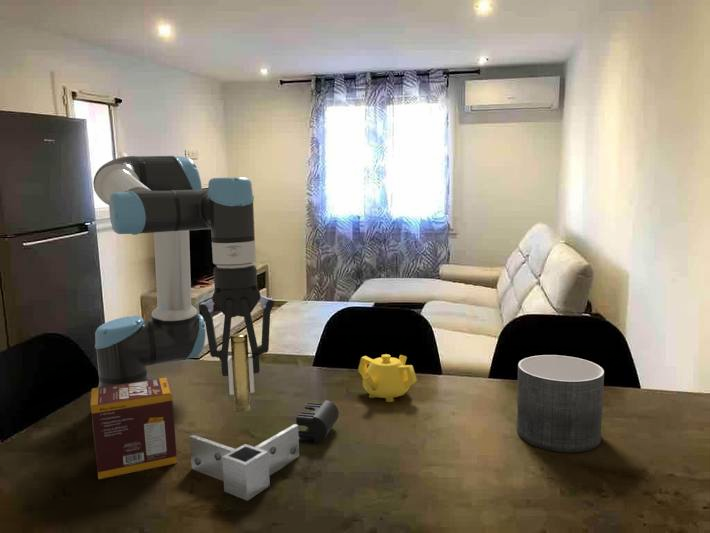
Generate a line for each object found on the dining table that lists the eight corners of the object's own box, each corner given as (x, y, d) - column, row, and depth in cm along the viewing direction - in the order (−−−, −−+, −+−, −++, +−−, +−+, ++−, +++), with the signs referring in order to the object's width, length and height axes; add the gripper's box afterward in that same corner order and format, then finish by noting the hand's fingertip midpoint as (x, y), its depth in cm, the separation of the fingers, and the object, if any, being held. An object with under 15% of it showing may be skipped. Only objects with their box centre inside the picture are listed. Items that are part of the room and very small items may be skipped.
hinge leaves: (181, 474, 112) (179, 441, 111) (246, 439, 127) (244, 409, 126) (247, 500, 103) (245, 464, 101) (308, 459, 117) (307, 427, 116)
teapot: (379, 378, 165) (378, 341, 163) (433, 390, 154) (433, 350, 153) (337, 400, 149) (336, 359, 147) (395, 415, 138) (394, 371, 137)
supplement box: (97, 457, 120) (91, 387, 118) (172, 442, 126) (167, 376, 124) (96, 480, 111) (89, 405, 109) (177, 463, 117) (172, 392, 115)
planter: (613, 432, 126) (616, 365, 124) (582, 462, 114) (585, 388, 111) (537, 412, 139) (539, 350, 136) (502, 436, 126) (503, 369, 123)
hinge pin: (234, 413, 102) (230, 338, 100) (234, 406, 105) (230, 334, 103) (251, 411, 103) (247, 337, 101) (251, 405, 106) (247, 332, 104)
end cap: (327, 447, 123) (326, 418, 122) (296, 444, 124) (295, 415, 123) (339, 428, 132) (338, 400, 131) (310, 425, 134) (309, 398, 133)
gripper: (186, 270, 95) (195, 403, 98) (281, 265, 98) (287, 394, 101) (190, 264, 102) (198, 388, 106) (278, 259, 105) (284, 380, 109)
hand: (242, 390), depth 104 cm, fingers closed on hinge pin, 3 cm apart
